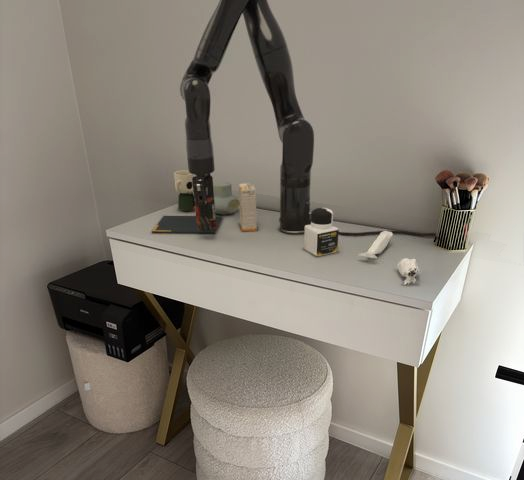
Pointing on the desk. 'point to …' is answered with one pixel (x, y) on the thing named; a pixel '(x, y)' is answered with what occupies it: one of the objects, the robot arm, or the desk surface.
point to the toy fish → (378, 245)
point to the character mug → (184, 189)
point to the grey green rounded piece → (224, 198)
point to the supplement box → (247, 206)
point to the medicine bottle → (321, 233)
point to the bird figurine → (408, 269)
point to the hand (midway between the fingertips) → (205, 212)
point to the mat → (181, 225)
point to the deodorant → (210, 220)
